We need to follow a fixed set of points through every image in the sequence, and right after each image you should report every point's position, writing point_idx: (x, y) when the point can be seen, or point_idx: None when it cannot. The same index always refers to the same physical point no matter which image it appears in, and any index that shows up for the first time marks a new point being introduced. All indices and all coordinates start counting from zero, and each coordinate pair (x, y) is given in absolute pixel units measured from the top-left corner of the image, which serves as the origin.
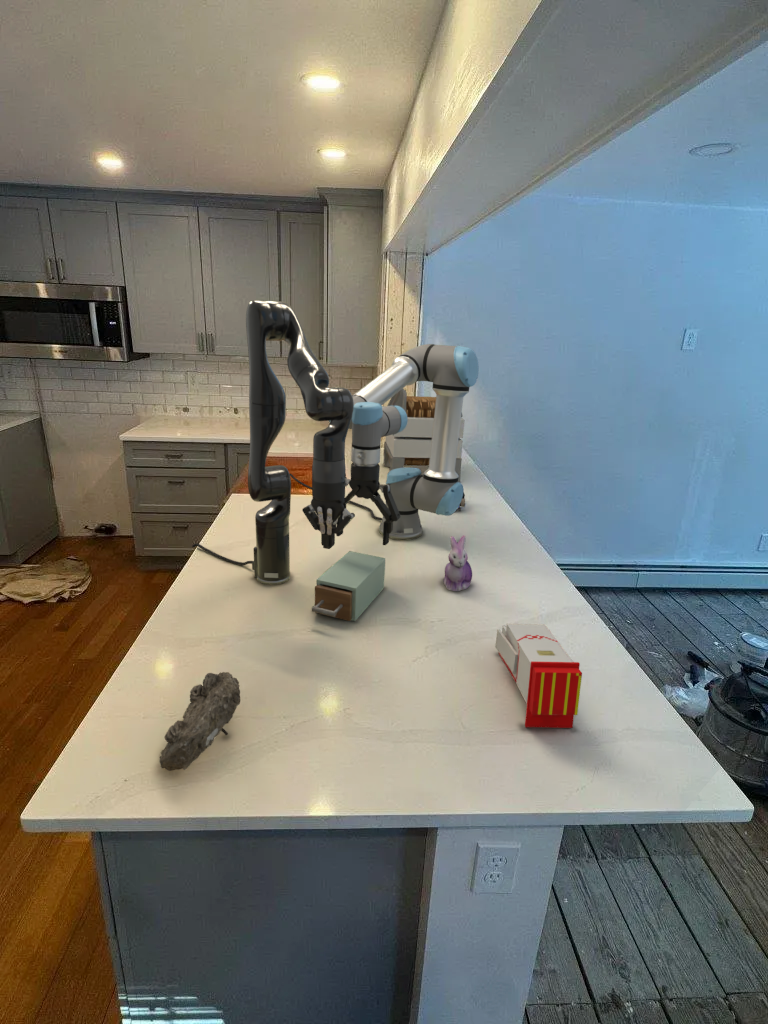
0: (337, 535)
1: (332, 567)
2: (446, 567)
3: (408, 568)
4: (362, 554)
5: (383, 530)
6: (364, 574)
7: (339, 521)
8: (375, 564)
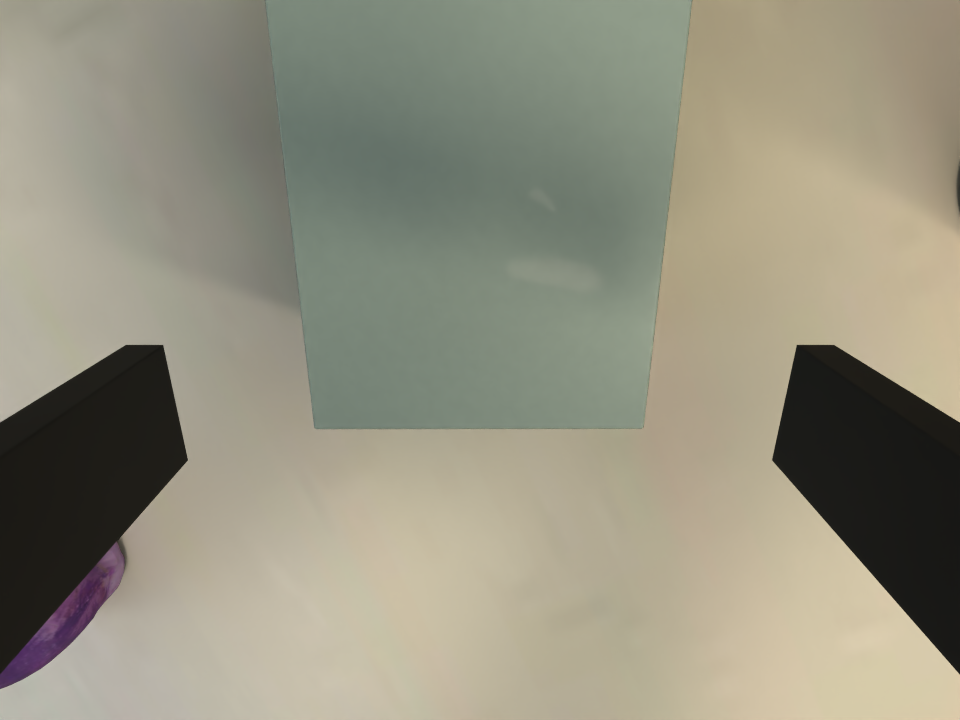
0: (824, 348)
1: (670, 16)
2: None
3: (349, 589)
4: (513, 408)
5: (5, 450)
6: (309, 9)
7: (957, 465)
8: (324, 275)
